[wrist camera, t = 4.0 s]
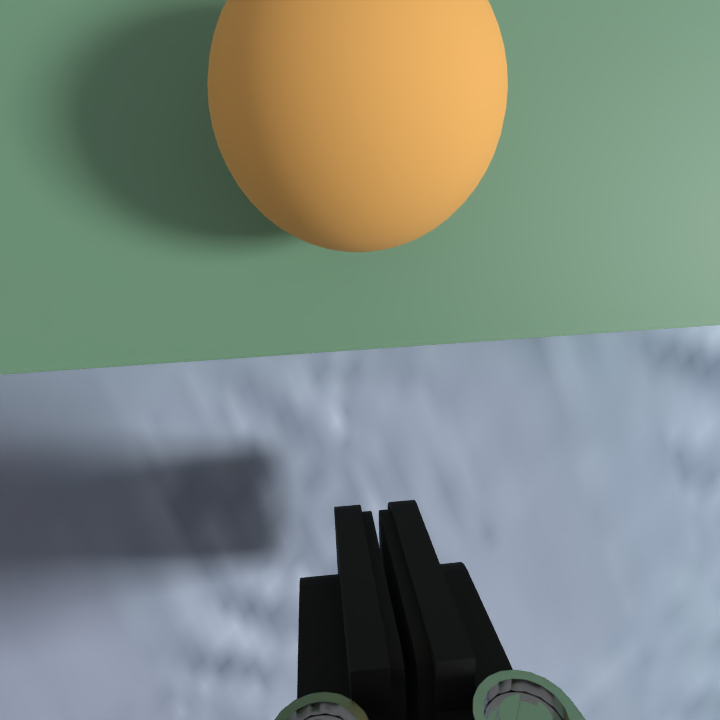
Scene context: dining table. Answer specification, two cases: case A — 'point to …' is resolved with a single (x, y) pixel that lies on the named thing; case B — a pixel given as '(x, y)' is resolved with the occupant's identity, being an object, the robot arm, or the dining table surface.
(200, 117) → the putting board
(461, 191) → the ball
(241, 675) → the dining table surface
